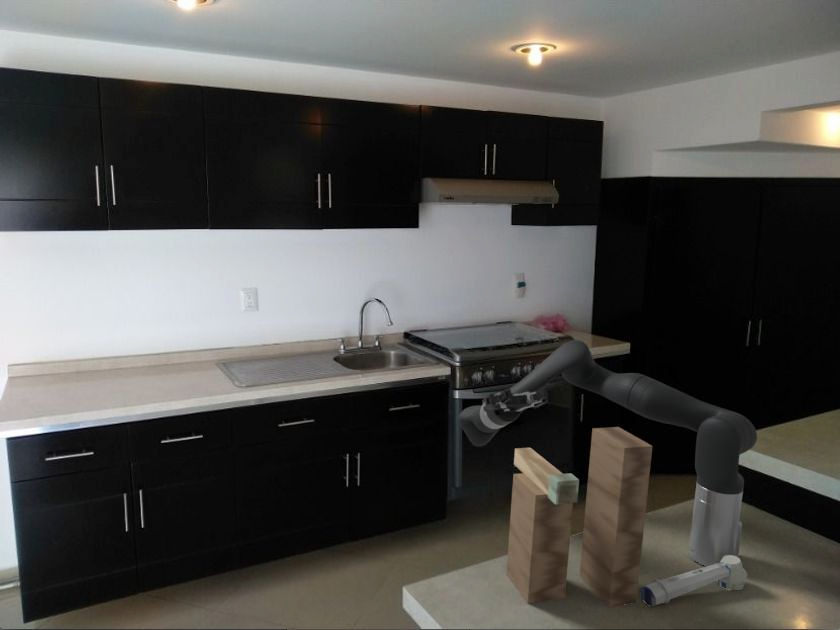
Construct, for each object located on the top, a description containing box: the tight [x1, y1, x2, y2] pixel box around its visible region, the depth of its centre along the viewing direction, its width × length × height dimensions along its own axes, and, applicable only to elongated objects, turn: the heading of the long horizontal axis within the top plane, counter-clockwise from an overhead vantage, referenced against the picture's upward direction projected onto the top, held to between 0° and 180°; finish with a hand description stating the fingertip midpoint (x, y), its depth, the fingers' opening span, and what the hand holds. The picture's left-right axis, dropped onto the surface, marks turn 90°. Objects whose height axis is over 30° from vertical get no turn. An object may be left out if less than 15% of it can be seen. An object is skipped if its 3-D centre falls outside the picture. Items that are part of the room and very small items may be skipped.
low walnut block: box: [505, 472, 574, 604], centre depth 124 cm, size 8×10×22 cm
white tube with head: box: [639, 555, 748, 608], centre depth 126 cm, size 5×7×25 cm
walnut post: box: [578, 426, 653, 608], centre depth 124 cm, size 6×11×32 cm, turn 16°
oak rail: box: [513, 447, 580, 505], centre depth 123 cm, size 4×19×4 cm, turn 16°
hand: (527, 392), depth 137 cm, fingers open, 8 cm apart
